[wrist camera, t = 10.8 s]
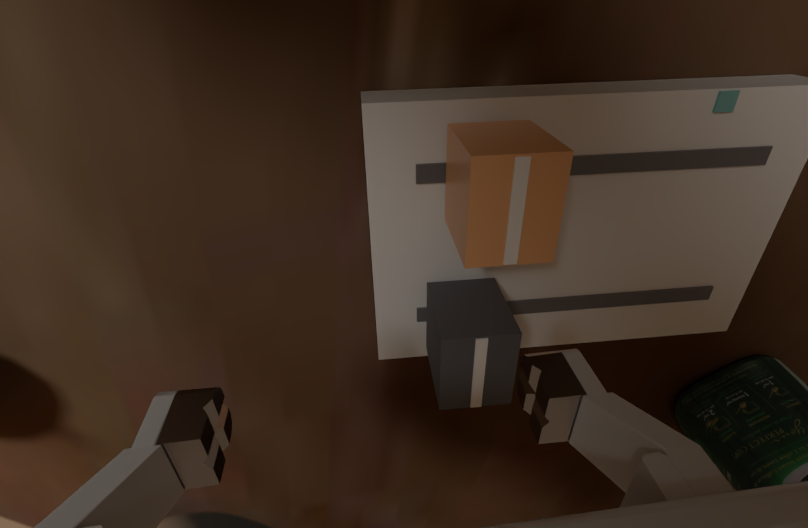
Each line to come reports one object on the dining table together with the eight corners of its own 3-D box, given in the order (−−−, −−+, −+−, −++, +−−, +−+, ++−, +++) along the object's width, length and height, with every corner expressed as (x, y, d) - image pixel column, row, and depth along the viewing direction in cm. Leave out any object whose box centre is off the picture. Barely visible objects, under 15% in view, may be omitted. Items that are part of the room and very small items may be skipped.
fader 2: (426, 347, 28) (439, 411, 24) (426, 282, 26) (441, 341, 21) (487, 342, 28) (511, 405, 24) (494, 277, 26) (522, 334, 21)
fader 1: (444, 218, 24) (465, 269, 19) (447, 123, 21) (471, 157, 17) (517, 214, 24) (554, 263, 19) (529, 119, 21) (575, 151, 17)
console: (376, 330, 31) (378, 361, 29) (360, 91, 23) (361, 104, 20) (697, 304, 33) (728, 332, 30) (792, 74, 25) (845, 84, 22)
